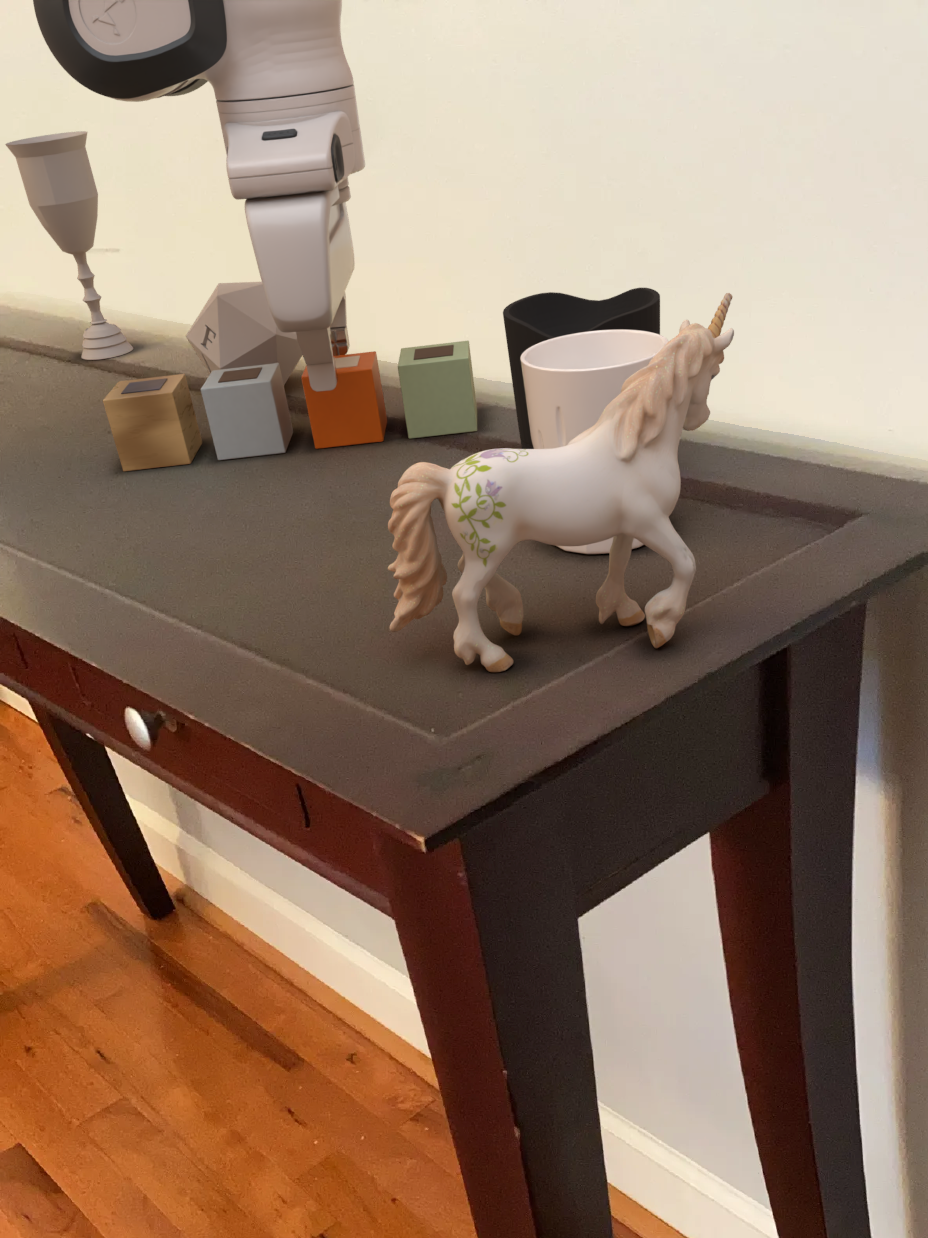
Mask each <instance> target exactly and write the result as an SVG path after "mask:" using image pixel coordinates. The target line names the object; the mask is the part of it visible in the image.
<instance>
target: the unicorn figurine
mask: <svg viewBox="0 0 928 1238" xmlns="http://www.w3.org/2000/svg"><path fill="white" fill-rule="evenodd" d="M732 300H733V294H732V293H730V292H726V293H725V294H724V296H723V298H722V300H721V301H720V305H718V306H717V309H716V311H715V313H714V316H713V317H712V319H711V321H710V324H709V325H708V327H707V328H706V327H705V326H704V325H702V324H700V323H697V322H694V323H690V320H689V319H684V320H683V321H682V322H681V324H680V326H679V329H678V332H679V333H677V335H676V336H674V337H673V338H671V339H670V340H668V341H669V342H668V343H667V344H666V345H665V346H664V347H663V349H661V350H660V351H659V352H658V353H657V354H656V355H655V356H654V357H653V358H652V360H651V361H650V362H649V364H648V366H646V367H644V368H642V369H640V370H639V371H637V372H636V373H634V374H633V375H631V376H630V377H629V378H628V379H627V380H625V382H624V383H623V386H622V388H621V394H619V395H618V396H617V397H616V398H615V399H613V400H612V401H611V402H610V403H609V404H608V405H607V406H606V408H605V409H604V411H603V413H602V415H601V416H600V418H599V420H598V421H597V423H596V424H595V425H593V426H592V427H591V428H589V429H587V430H586V431H584V432H582V433H581V434H579V435H578V436H577V437H575V438H574V439H573V440H571V441H570V442H569V443H568V445H567V446H563V447H558V448H553V449H522V448H510V447H505V448H503V447H502V448H492V449H485V450H482V451H478V452H475V453H473V454H471V455H469V456H467V457H465V458H463V459H461V460H459V461H458V462H457V463H455V464H454V465H452V466H451V467H450V468H446V467H443V466H441V465H438V464H435V463H431V462H426V461H420V462H417V463H414V464H412V465H410V466H409V467H408V468H407V469H406V470H405V471H404V472H403V474H402V475H401V477H400V478H399V480H398V482H397V488H395V489H394V490H393V491H392V492H391V495H390V498H389V506H390V508H391V509H392V510H393V511H392V514H391V518H390V519H389V520H388V522H387V528H388V532H389V533H390V534H391V535H393V536H394V539H393V542H392V545H391V546H392V549H393V550H394V551H395V552H397V553H398V554H397V557H396V559H395V560H394V562H392V563H390V564H389V565H388V567H387V570H388V571H390V572H393V579H395V580H398V584H397V586H396V588H395V590H394V592H393V597H394V598H395V599H396V600H397V601H398V602H397V605H396V607H395V609H394V612H393V614H394V618H393V620H391V622H390V625H389V631H390V632H392V633H397V632H400V631H402V629H404V628H405V627H406V626H407V625H408V624H410V623H411V622H412V621H413V620H420V619H423V618H424V617H426V616H428V615H430V614H431V613H432V612H433V610H435V608H436V606H438V605H439V604H440V603H441V602H442V601H443V598H444V594H445V593H444V586H445V585H446V584H447V582H448V581H447V580H448V574H447V573H448V572H447V570H446V568H445V567H446V566H445V565H444V564H443V560H442V559H443V557H442V554H441V552H440V550H439V545H438V538H437V534H436V530H435V525H434V524H435V523H434V521H433V517H432V515H431V514H432V504H433V502H434V500H438V502H439V504H440V507H441V509H442V511H443V512H444V517H445V518H444V519H445V521H446V524H447V527H448V529H449V531H450V533H451V535H452V538H453V539H454V540H455V542H456V544H457V545H458V547H459V548H460V549H461V552H462V555H461V557H460V558H459V560H458V562H457V569H458V570H459V572H460V573H461V576H460V577H459V580H458V581H457V583H456V584H455V586H454V587H453V589H452V591H451V595H452V600H453V604H454V607H455V610H456V613H457V617H458V623H457V625H456V628H455V630H453V635H452V637H453V648H454V649H453V651H454V653H455V656H457V657H458V658H459V659H462V660H463V661H464V664H465V665H466V666H469V665H471V664H472V663H473V662H474V661H475V659H476V657H477V656H479V657H480V658H479V659H480V663H481V665H482V666H483V667H485V669H486V671H488V672H490V673H502V672H505V671H506V670H508V669H509V668H510V667H511V666H513V664H514V659H513V657H511V656H510V655H509V654H508V653H507V652H506V651H505V650H504V648H503V647H502V646H500V645H497V644H495V643H493V642H491V641H490V639H488V638H487V636H486V635H485V634H484V631H483V629H482V626H481V623H480V619H479V613H478V604H479V600H480V597H481V594H482V593H483V591H484V590H485V602H486V606H487V608H488V609H490V610H491V611H492V612H495V613H496V616H497V618H498V619H499V625H500V627H501V628H502V629H503V630H505V631H506V632H507V633H509V634H510V635H512V636H516V637H517V636H519V635H521V633H522V631H523V630H522V628H523V620H524V605H523V600H522V595H521V592H520V590H519V589H518V588H517V587H516V586H515V585H513V584H512V583H510V582H509V581H507V580H506V579H505V578H504V577H502V576H501V575H500V574H498V572H497V571H498V569H499V567H500V566H501V564H502V562H503V561H504V560H505V559H506V557H507V556H508V555H509V553H510V552H511V551H512V550H513V549H514V547H515V546H516V545H517V544H518V543H520V542H524V541H535V542H539V543H542V544H544V545H551V546H555V545H556V547H557V546H583V545H588V544H593V543H597V542H601V541H604V540H608V539H610V538H612V537H613V543H612V546H611V548H610V553H608V554H609V556H608V557H609V559H608V573H607V576H606V578H605V579H604V581H603V583H602V584H601V586H600V587H599V588H598V590H597V591H596V594H595V595H596V596H595V603H596V606H597V607H598V610H599V612H598V622H599V623H600V624H601V625H604V623H605V622H606V620H607V619H609V618H610V617H611V616H612V615H613V614H614V613H615V614H616V617H617V620H618V623H619V625H621V626H623V627H632V626H635V625H638V624H640V623H642V622H643V621H644V620H645V619H646V627H647V633H648V636H649V639H650V643H651V645H652V646H653V647H654V648H655V649H658V648H660V647H662V646H663V645H664V644H666V643H667V642H668V641H670V640H671V639H672V637H673V636H674V635H675V632H676V628H677V627H676V626H677V624H678V623H680V621H681V619H682V618H683V616H684V615H685V612H686V608H687V601H688V595H689V592H690V589H691V587H692V584H693V581H694V578H695V575H696V571H697V564H696V559H695V556H694V554H693V552H692V551H691V550H690V548H689V546H687V544H686V543H685V541H684V540H683V539H682V537H681V536H680V534H679V533H678V532H677V531H676V529H675V527H674V525H673V524H672V522H671V520H670V516H671V515H672V513H673V511H674V510H675V508H676V505H677V503H678V500H679V498H680V494H681V486H682V483H681V482H682V479H681V470H680V465H679V460H678V457H679V456H678V455H679V452H678V451H679V446H680V441H681V437H682V432H683V430H684V431H688V432H690V431H695V430H697V429H699V428H700V427H701V426H702V425H705V423H706V422H707V421H708V420H709V418H710V415H711V410H710V408H709V406H708V404H707V403H708V397H709V394H710V389H711V383H712V380H713V379H714V378H716V377H717V376H718V374H719V373H720V371H721V368H720V365H721V364H723V363H724V360H725V353H724V350H726V349H727V348H728V347H729V346H730V345H731V344H732V341H733V339H734V336H735V330H734V329H733V328H732V327H731V328H729V329H728V330H726V331H725V332H723V333H722V328H723V327H724V323H725V320H726V318H727V315H728V312H729V308H730V306H731V302H732ZM721 333H722V334H721ZM634 538H635V539H637V540H638V541H640V542H641V543H643V544H644V545H643V546H646V547H647V548H648V549H650V550H652V552H655V553H657V554H658V555H659V556H660V557H662V558H663V559H665V560H666V561H667V562H669V564H670V565H671V569H672V572H673V578H672V581H671V583H670V585H669V587H667V588H665V589H663V590H660V591H658V592H657V593H655V594H654V595H653V597H651V598H650V599H649V600H648V601H647V603H646V604H645V606H644V611H643V609H641V607H640V605H639V603H638V602H637V601H636V600H634V599H631V598H630V597H629V596H628V594H627V592H626V589H625V573H626V570H627V568H628V565H629V563H630V562H629V561H630V558H631V556H632V550H633V549H632V542H633V539H634Z"/></svg>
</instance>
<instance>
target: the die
mask: <svg viewBox="0 0 928 1238" xmlns="http://www.w3.org/2000/svg"><path fill="white" fill-rule="evenodd" d="M185 338H186V340H187V341H188V343H189V344H190V346H191V348H192V349H193V351H194V352H195V354H196V355H197V357H198V359H199V360H200V361H201V363H202V365H203V366H204V368H205V370H206V371H207V372H208V374H209V375H210V374H211V372H212V371H213V370H222V369H230V368H239V367H247V366H256V365H264V364H273V363H279V365H280V370H281V375H282V380H283V385H284V386H285V384H286V383H287V381H288V379H289V378H290V376H292V373H293V372H294V370H295V368H296V366H297V365H298V364H299V362H300V360H301V359H302V358H303V355H302V352H301V349H300V347H299V344H298V341H297V335H296V332H281V331H280V330H279V329H278V327H277V325H276V323H275V321H274V319H273V317H272V314H271V311H270V309H269V306H268V302H267V299H266V295H265V291H264V288H263V284H262V281H244V282H243V281H239V282H219V283H217V285H216V287H215V288H214V290H213V291H212V293H211V295H210V296H209V298H208V299H207V301H206V303H205V304H204V306H203V308H202V309H201V311H200V313H199V314H198V316H197V317H196V318H195V320H194V321H193V324H192V325H191V326H190V328H189V330H188V331H187V333H186V334H185Z"/></svg>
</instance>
